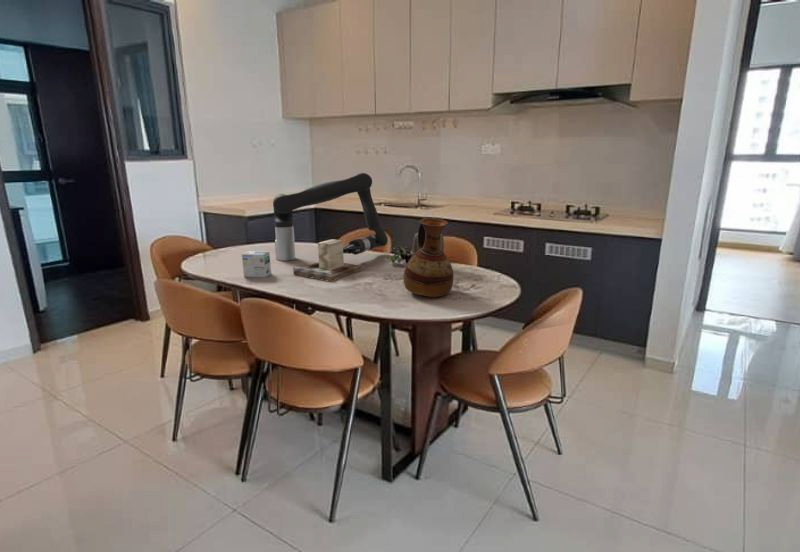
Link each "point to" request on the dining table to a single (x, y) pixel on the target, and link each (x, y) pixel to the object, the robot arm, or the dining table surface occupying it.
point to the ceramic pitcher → (429, 262)
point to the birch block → (330, 254)
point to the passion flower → (402, 253)
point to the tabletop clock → (415, 242)
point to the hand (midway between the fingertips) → (337, 252)
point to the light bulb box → (256, 264)
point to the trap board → (326, 271)
